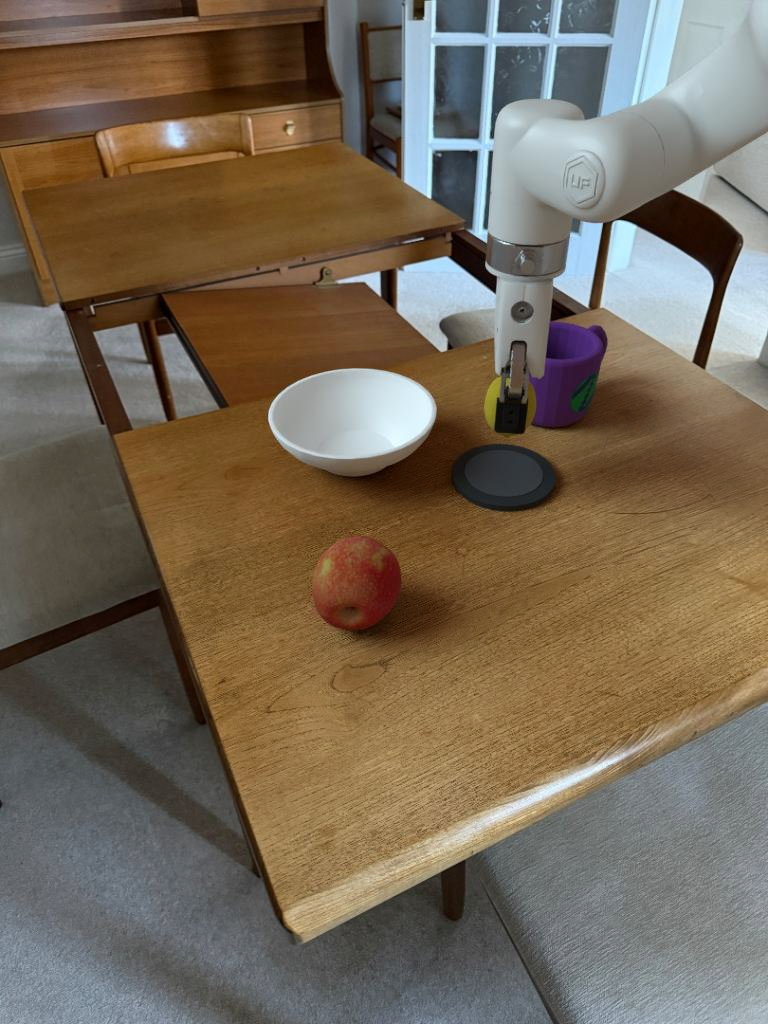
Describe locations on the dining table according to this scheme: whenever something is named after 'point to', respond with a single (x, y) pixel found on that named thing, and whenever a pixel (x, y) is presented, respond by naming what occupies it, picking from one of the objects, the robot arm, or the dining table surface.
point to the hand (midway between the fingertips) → (509, 414)
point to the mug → (568, 373)
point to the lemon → (495, 392)
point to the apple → (356, 583)
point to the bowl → (352, 419)
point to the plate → (503, 477)
